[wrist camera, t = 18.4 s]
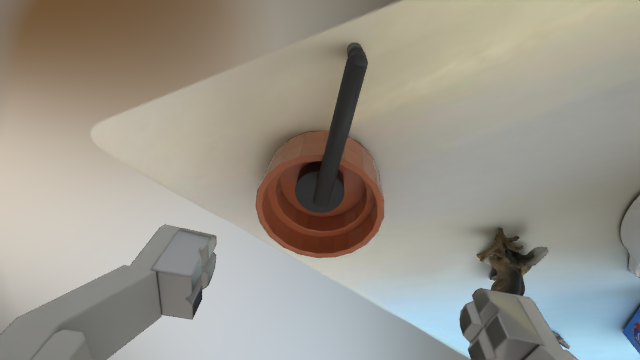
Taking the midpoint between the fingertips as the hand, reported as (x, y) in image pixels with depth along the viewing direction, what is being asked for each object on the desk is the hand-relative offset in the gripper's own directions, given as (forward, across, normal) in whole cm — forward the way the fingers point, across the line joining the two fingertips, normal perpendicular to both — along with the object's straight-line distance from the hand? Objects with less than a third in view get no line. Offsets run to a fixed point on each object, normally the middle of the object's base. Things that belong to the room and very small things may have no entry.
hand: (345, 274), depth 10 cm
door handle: (+21, 0, +4) cm, 21 cm away
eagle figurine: (+21, -22, +15) cm, 34 cm away
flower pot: (+21, 0, +10) cm, 23 cm away
